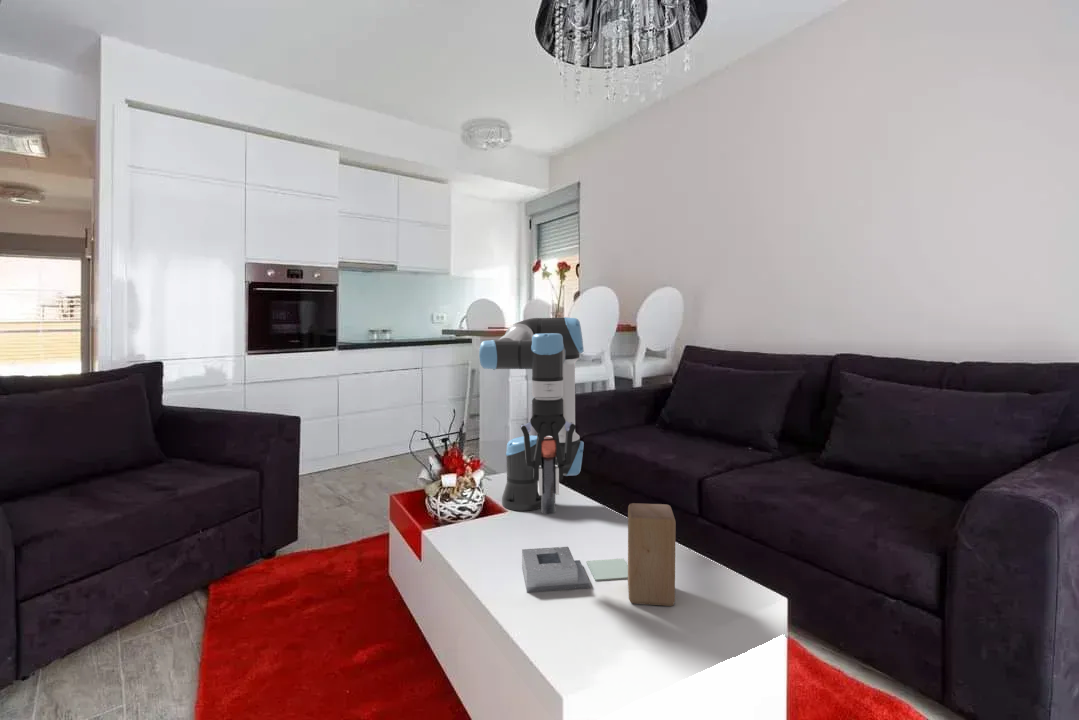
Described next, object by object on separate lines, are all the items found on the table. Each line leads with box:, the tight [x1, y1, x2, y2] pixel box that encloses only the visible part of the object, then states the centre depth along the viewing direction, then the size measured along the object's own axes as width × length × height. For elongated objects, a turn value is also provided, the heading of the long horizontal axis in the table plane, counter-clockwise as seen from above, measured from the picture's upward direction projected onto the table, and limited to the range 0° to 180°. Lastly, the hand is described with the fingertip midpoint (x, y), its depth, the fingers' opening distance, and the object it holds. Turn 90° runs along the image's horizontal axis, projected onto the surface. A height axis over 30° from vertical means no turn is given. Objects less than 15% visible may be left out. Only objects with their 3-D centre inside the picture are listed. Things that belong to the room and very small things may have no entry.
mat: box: [586, 558, 628, 582], centre depth 130 cm, size 10×10×1 cm
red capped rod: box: [541, 437, 557, 515], centre depth 125 cm, size 4×4×18 cm
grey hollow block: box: [521, 546, 591, 593], centre depth 126 cm, size 12×15×5 cm
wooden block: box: [627, 502, 677, 607], centre depth 117 cm, size 10×10×20 cm
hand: (548, 492), depth 125 cm, fingers closed on red capped rod, 3 cm apart
